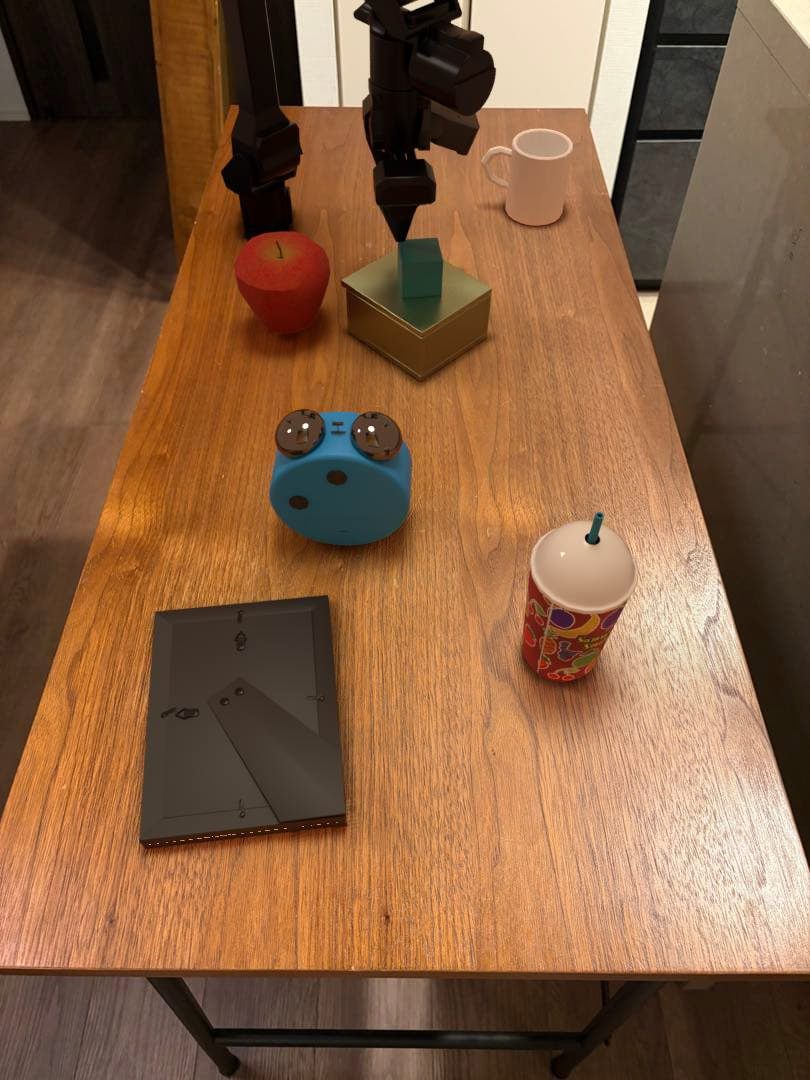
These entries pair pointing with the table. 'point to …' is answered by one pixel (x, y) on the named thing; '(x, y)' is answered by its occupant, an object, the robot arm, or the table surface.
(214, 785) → the picture frame
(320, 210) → the table surface
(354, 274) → the lid
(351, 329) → the brass box
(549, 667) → the smoothie
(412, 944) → the table surface
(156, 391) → the table surface
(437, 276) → the block
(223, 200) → the table surface
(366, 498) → the alarm clock
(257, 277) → the apple
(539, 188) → the mug
